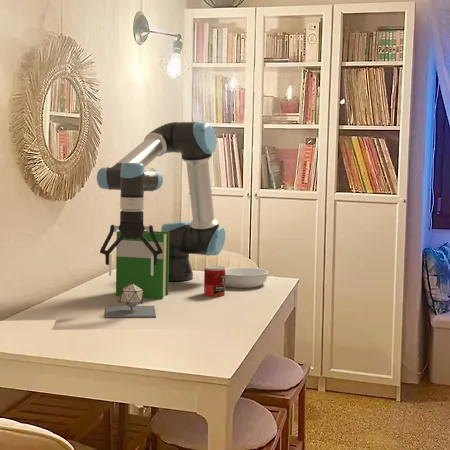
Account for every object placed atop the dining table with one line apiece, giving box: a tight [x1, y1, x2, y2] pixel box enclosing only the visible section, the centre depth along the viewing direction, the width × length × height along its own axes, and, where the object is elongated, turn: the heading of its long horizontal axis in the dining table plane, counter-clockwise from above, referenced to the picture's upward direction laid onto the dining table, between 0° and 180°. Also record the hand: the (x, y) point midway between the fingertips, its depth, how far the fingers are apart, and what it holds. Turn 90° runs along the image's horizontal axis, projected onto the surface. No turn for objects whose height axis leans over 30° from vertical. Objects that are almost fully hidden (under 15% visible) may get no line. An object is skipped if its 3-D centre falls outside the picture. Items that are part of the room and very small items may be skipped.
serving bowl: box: [225, 267, 269, 289], centre depth 284 cm, size 21×21×7 cm
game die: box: [117, 281, 145, 310], centre depth 234 cm, size 9×8×10 cm
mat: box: [104, 305, 157, 319], centre depth 234 cm, size 16×16×1 cm
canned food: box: [203, 265, 226, 298], centre depth 264 cm, size 8×8×11 cm
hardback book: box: [115, 230, 169, 300], centre depth 260 cm, size 18×7×24 cm, turn 78°
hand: (131, 275), depth 233 cm, fingers open, 13 cm apart
